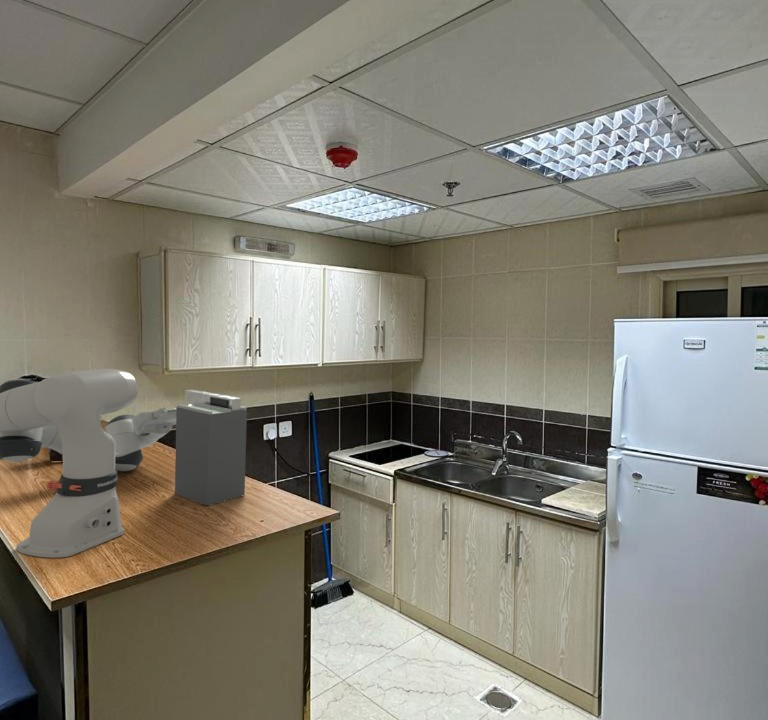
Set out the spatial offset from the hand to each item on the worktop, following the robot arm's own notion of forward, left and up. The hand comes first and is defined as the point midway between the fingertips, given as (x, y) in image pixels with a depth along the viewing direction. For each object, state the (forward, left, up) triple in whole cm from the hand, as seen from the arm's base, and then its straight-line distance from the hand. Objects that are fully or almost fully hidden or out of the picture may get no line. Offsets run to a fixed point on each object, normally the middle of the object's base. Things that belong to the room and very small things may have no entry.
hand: (178, 408), depth 172 cm
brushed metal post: (-8, -17, +3) cm, 19 cm away
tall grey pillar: (-13, -20, -23) cm, 33 cm away
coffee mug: (+4, +48, -23) cm, 54 cm away
